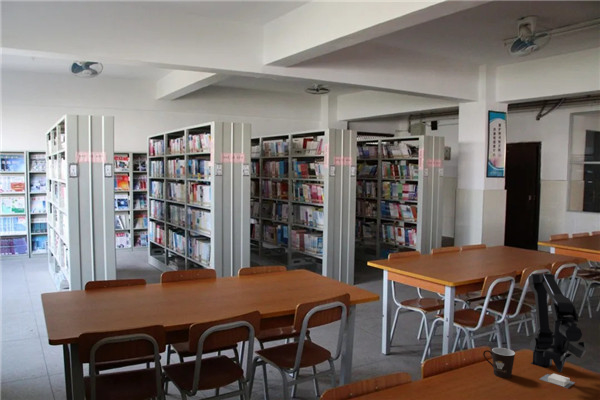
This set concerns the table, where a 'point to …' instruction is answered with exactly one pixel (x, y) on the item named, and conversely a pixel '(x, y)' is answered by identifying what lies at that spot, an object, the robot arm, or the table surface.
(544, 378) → the mat
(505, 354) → the coffee mug
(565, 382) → the tile
